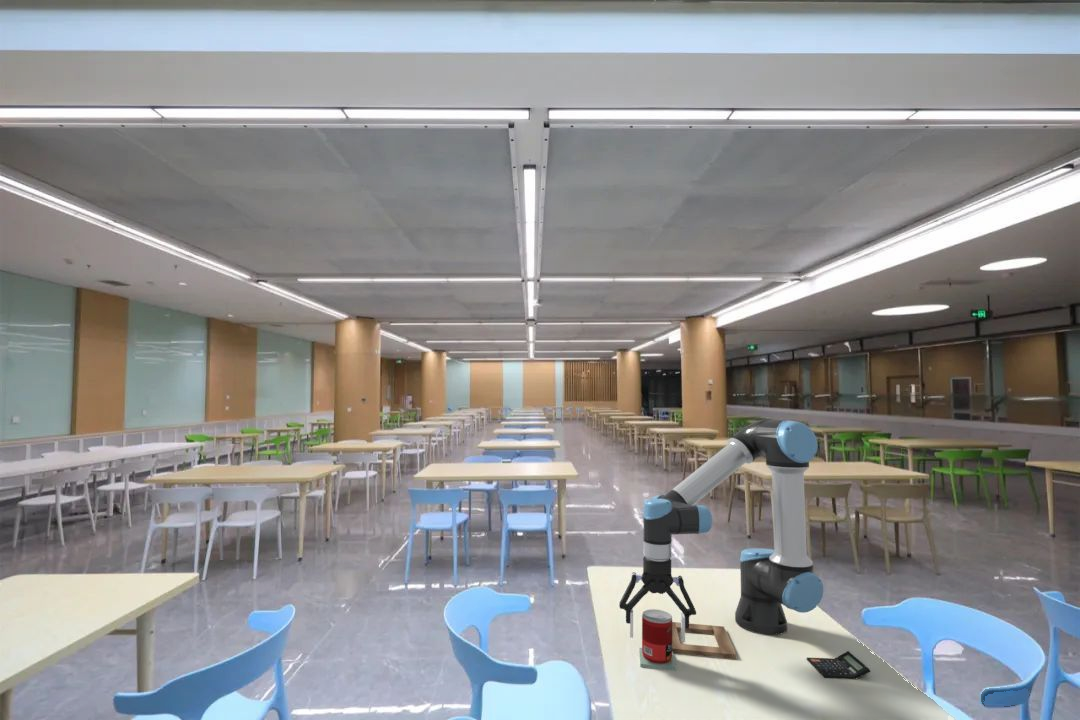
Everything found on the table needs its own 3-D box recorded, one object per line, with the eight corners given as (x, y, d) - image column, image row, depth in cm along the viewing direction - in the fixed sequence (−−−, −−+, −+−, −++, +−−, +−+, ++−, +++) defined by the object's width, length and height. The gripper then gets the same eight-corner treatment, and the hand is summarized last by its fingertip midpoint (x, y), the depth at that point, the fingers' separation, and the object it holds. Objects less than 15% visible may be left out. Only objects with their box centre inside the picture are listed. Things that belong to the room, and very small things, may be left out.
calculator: (806, 660, 141) (806, 649, 141) (850, 662, 141) (849, 650, 141) (824, 679, 132) (824, 666, 132) (870, 680, 131) (870, 668, 131)
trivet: (672, 653, 142) (672, 650, 142) (675, 670, 134) (675, 667, 134) (639, 650, 144) (639, 647, 144) (640, 666, 135) (640, 663, 135)
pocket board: (723, 630, 158) (723, 626, 158) (736, 659, 140) (736, 654, 140) (663, 625, 161) (663, 621, 161) (668, 652, 143) (668, 648, 143)
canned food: (673, 665, 134) (673, 622, 135) (641, 662, 136) (642, 618, 137) (671, 652, 142) (671, 610, 143) (642, 648, 143) (642, 607, 144)
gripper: (702, 556, 143) (702, 635, 141) (611, 550, 147) (610, 627, 145) (706, 564, 135) (707, 648, 134) (610, 558, 139) (610, 639, 138)
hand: (657, 638), depth 139 cm, fingers open, 13 cm apart
